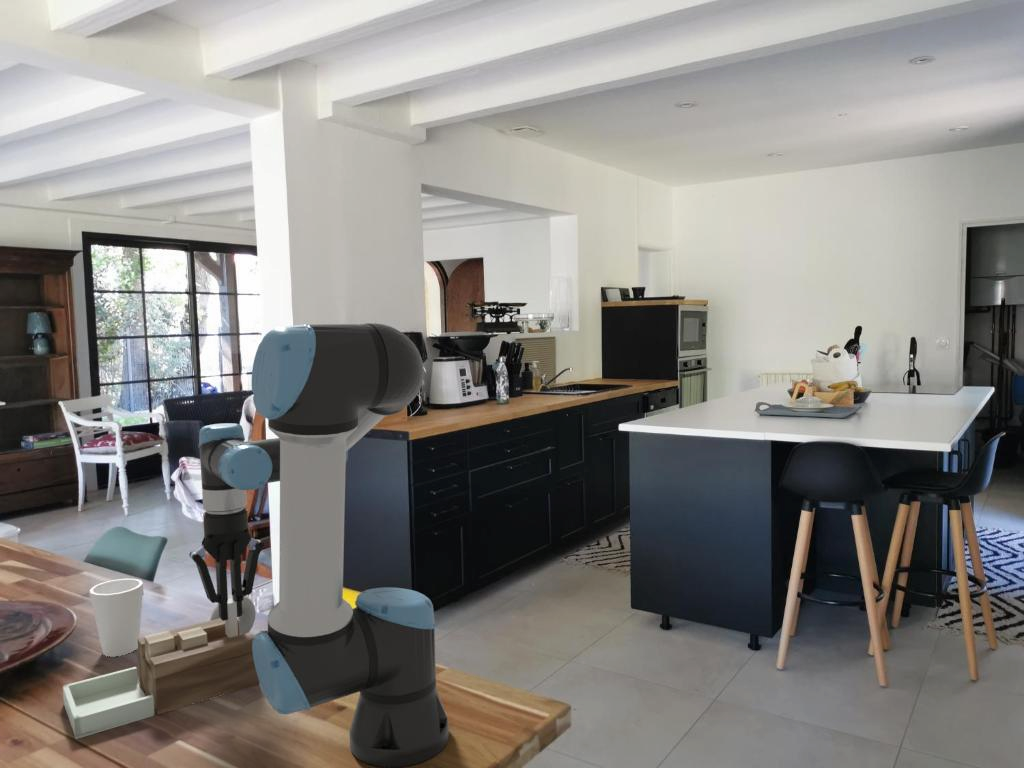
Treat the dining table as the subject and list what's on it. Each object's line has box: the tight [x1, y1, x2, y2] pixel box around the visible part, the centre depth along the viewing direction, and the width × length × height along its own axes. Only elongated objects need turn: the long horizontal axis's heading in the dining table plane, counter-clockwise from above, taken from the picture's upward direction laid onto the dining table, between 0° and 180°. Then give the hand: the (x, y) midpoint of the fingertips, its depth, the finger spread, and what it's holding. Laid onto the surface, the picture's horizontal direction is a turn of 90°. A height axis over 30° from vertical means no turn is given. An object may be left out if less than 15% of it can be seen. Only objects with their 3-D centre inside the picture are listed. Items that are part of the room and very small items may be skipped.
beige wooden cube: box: [177, 627, 207, 651], centre depth 137 cm, size 4×4×4 cm
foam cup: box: [89, 578, 145, 658], centre depth 154 cm, size 10×9×13 cm
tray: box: [62, 666, 155, 740], centre depth 131 cm, size 14×12×3 cm
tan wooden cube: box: [143, 630, 175, 664], centre depth 136 cm, size 4×4×4 cm
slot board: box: [137, 618, 260, 715], centre depth 139 cm, size 14×17×8 cm
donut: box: [209, 594, 256, 635], centre depth 156 cm, size 10×4×10 cm, turn 146°
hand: (231, 634), depth 142 cm, fingers closed
